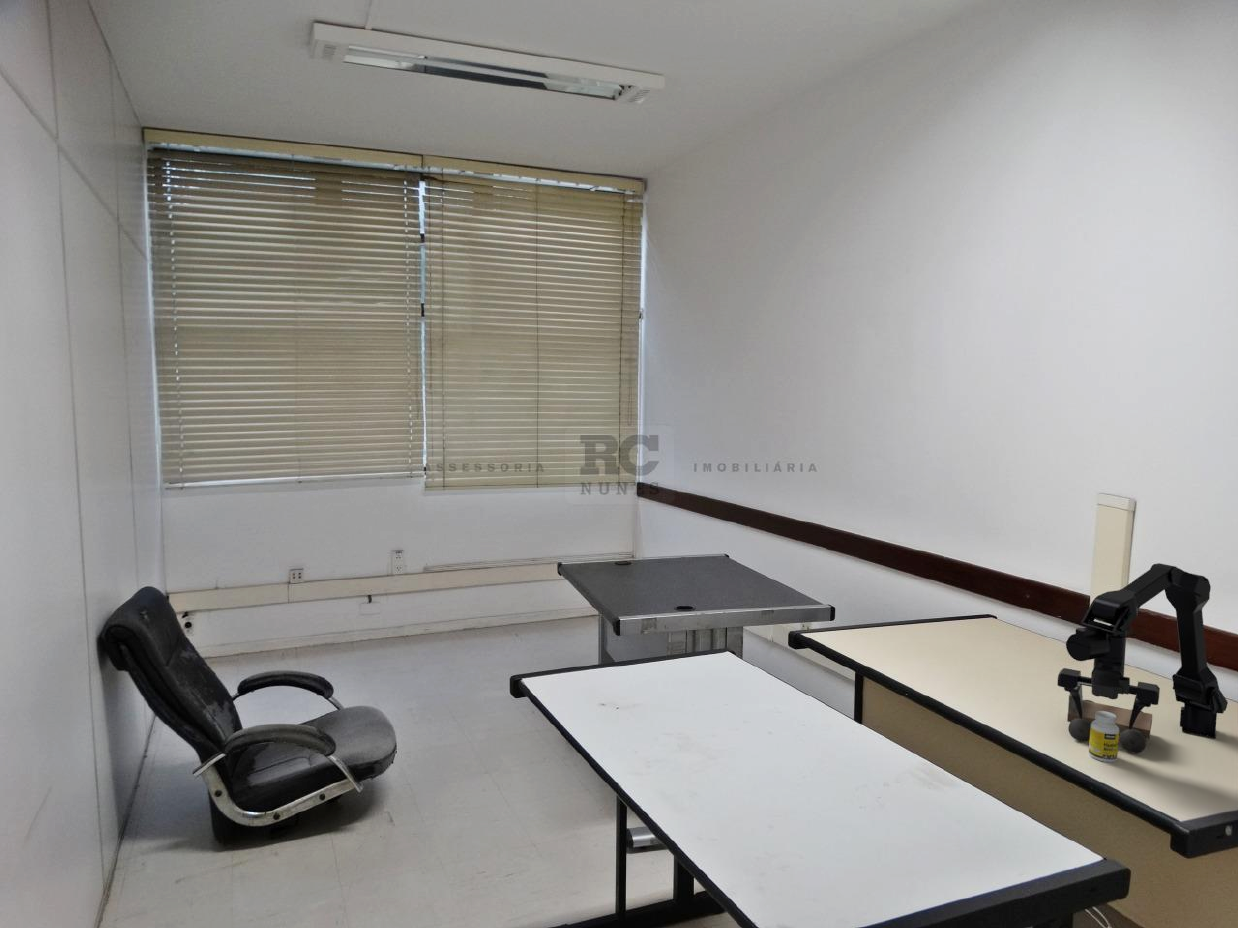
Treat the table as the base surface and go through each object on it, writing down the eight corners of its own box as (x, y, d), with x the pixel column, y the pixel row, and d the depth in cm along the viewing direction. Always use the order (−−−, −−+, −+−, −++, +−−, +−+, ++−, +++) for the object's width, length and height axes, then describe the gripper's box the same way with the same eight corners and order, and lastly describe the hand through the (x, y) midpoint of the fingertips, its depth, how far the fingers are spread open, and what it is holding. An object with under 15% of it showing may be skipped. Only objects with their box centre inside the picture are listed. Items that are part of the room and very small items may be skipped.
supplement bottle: (1103, 764, 173) (1106, 720, 173) (1082, 753, 179) (1085, 710, 178) (1123, 761, 175) (1126, 717, 174) (1102, 750, 180) (1105, 708, 179)
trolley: (1151, 733, 189) (1153, 694, 188) (1147, 756, 177) (1150, 715, 176) (1073, 716, 198) (1075, 680, 197) (1065, 737, 186) (1067, 698, 185)
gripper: (1055, 656, 174) (1051, 725, 175) (1159, 674, 163) (1154, 748, 164) (1062, 642, 183) (1059, 708, 184) (1161, 658, 172) (1157, 729, 173)
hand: (1105, 723), depth 176 cm, fingers open, 9 cm apart
